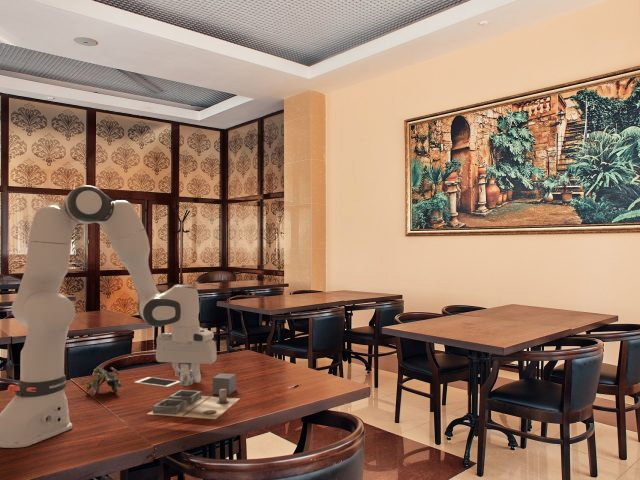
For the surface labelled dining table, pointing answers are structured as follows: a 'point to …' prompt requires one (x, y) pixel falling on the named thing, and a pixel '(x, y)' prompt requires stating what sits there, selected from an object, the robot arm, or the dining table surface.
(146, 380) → the cell phone
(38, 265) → the robot arm
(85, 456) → the dining table surface
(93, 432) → the dining table surface
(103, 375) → the olive green irregular piece
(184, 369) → the steel peg
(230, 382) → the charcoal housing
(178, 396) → the board
